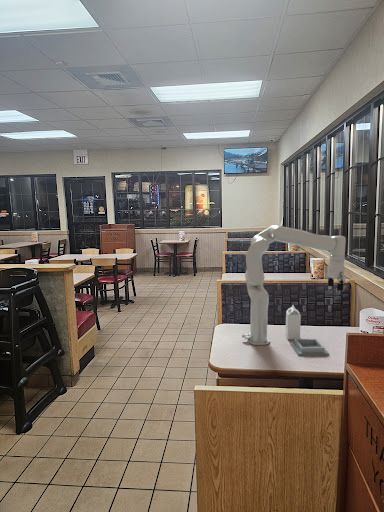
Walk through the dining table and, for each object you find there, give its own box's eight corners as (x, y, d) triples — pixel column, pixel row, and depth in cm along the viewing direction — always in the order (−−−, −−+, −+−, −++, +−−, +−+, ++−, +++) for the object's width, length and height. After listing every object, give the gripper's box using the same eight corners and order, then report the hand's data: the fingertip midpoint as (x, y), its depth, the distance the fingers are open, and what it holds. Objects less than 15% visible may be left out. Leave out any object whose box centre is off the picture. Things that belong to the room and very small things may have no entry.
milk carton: (297, 335, 212) (298, 304, 209) (299, 340, 205) (301, 308, 202) (285, 335, 213) (286, 304, 210) (287, 339, 206) (288, 308, 203)
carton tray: (298, 355, 185) (298, 349, 184) (290, 344, 200) (290, 338, 199) (329, 355, 185) (329, 349, 184) (318, 343, 200) (318, 337, 199)
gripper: (322, 255, 205) (321, 284, 208) (339, 261, 188) (337, 292, 191) (334, 255, 206) (333, 284, 209) (352, 260, 189) (350, 291, 192)
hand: (335, 288), depth 200 cm, fingers open, 9 cm apart
